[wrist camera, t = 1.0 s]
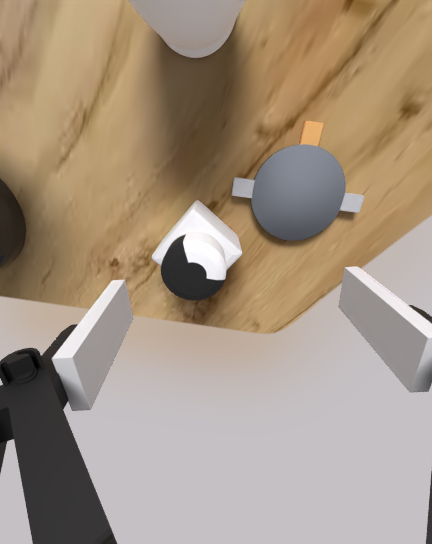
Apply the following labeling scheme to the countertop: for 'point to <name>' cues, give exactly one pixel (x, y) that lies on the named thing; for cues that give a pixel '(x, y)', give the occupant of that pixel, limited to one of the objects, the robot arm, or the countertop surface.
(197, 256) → the medicine bottle
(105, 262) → the countertop surface
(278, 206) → the pad
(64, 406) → the robot arm
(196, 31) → the jar
